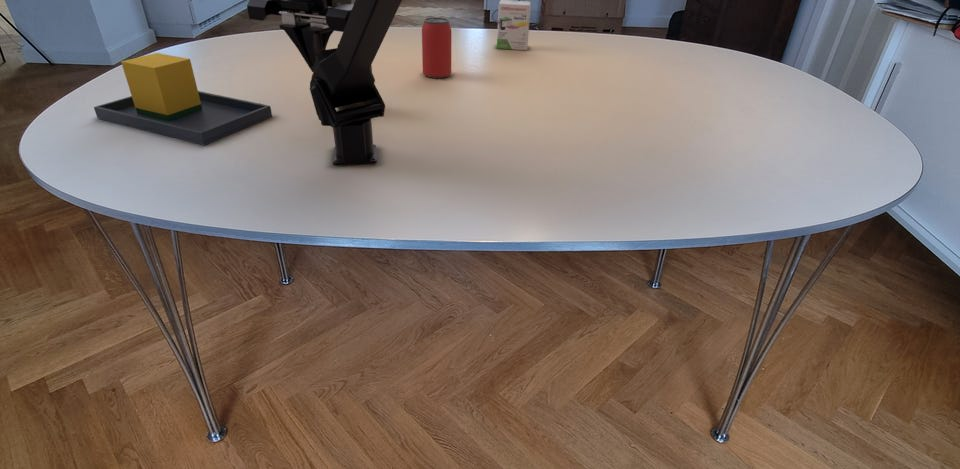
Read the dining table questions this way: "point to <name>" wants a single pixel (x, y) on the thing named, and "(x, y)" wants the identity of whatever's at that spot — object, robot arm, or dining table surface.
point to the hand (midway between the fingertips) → (316, 72)
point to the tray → (191, 118)
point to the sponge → (162, 86)
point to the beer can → (436, 47)
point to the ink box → (513, 24)
